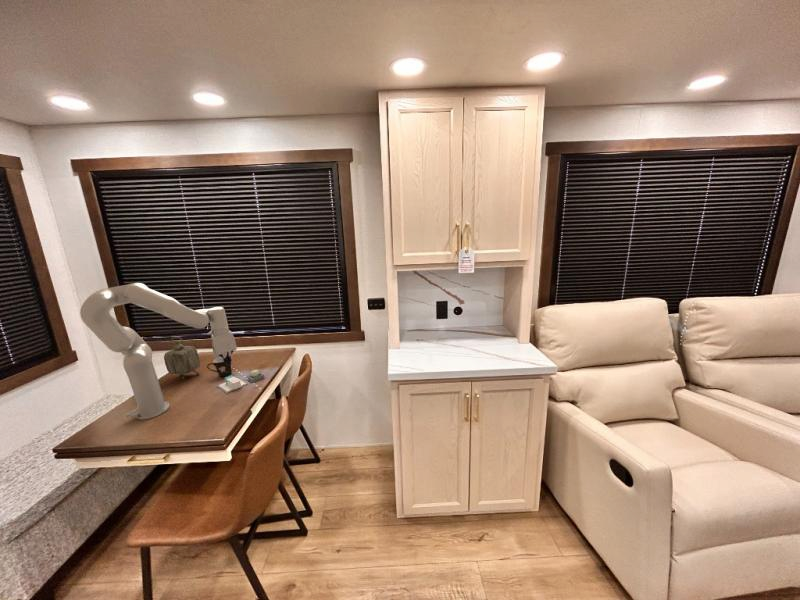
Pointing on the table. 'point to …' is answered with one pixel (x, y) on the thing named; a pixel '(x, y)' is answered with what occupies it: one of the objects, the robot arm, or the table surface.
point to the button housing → (255, 377)
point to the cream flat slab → (228, 389)
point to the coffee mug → (221, 368)
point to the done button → (254, 373)
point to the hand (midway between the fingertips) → (228, 363)
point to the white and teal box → (233, 382)
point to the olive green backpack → (182, 359)
